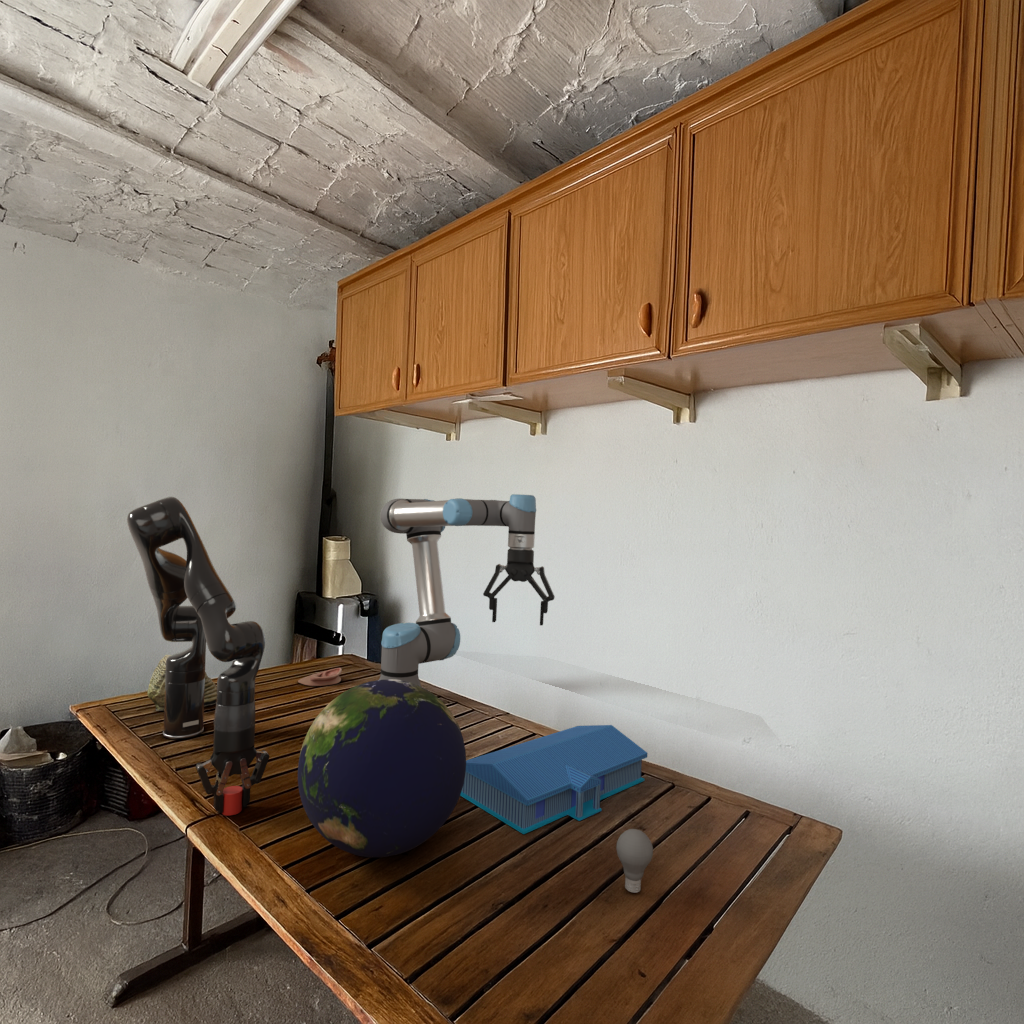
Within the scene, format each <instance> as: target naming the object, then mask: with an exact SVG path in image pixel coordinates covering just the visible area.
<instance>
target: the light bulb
mask: <svg viewBox="0 0 1024 1024" xmlns="http://www.w3.org/2000/svg"><path fill="white" fill-rule="evenodd" d="M615 849H616V854H617V857H618V859H619V861H620V863H621V865H622V867H623V873H624V874H623V875H624V876H625V878H624V888H625V890H627V891H628V892H630V893H634V894H635V893H639V892H640V891H641V889H642V887H641V886H642V879H643V877H644V875H645V871H646V868H647V867H648V866H649V864H650V863H651V861H652V859H653V855H654V847H653V843H652V841H651V838H649V836H648V835H647V834H646V833H645V832H643V831H642V830H641V829H636V828H629V829H627V830H625V831H623V832H622V833H621V834H620V835H619V837H618V839H617V841H616V847H615Z"/></svg>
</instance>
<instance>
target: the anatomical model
mask: <svg viewBox="0 0 1024 1024" xmlns="http://www.w3.org/2000/svg"><path fill="white" fill-rule="evenodd" d="M342 671H343V669H342V667H335V668H331V669H328V670H324V671H320V672H317V673H313V674H310V675H308V676H304V677H302V678H300V679H298V680H297V683H299V684H301V685H305V686H309V687H316V686H317V687H321V686H331V685H336V684H339V683H340V682H341V681H342V678H341V676H340V675H342Z"/></svg>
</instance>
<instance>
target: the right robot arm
mask: <svg viewBox="0 0 1024 1024" xmlns="http://www.w3.org/2000/svg"><path fill="white" fill-rule="evenodd" d="M536 515H537V499H536V496H534V495H533V494H517V493H516V494H515V493H513V494H510V496H509V500H498V499H472V498H471V499H469V498H460V497H459V498H450V499H446V500H433V499H428V498H423V499H422V498H393V499H390V500H389V501H386V502H385V503H384V505H383V506H382V507H381V510H380V513H379V517H380V522H381V525H383V527H384V528H385V529H386V530H387V531H389V532H390V533H395V534H403V535H404V534H406V541H407V542H408V543H409V544H410V545H411V547H412V557H413V566H414V567H413V568H414V576H415V585H416V595H417V602H418V612H419V616H418V618H417V619H416V620H415V623H414V622H405V623H404V622H400V623H394V624H392V625H389V626H387V627H386V628H385V629H384V630H383V632H382V635H381V642H380V643H381V655H380V656H381V658H380V675H379V679H378V680H387V679H396V680H402V681H406V682H410V683H413V684H416V685H418V686H420V687H422V684H421V681H420V678H419V664H420V665H421V664H425V663H432V662H437V661H444V660H447V659H450V658H453V657H455V655H456V654H457V653H458V651H459V648H460V645H461V632H460V629H459V628H458V625H457V624H455V623H454V622H452V617H451V616H450V615H449V614H448V613H447V612H446V606H445V605H446V603H445V598H444V595H445V594H444V586H443V579H442V570H441V561H440V552H439V551H440V550H439V545H438V541H439V540H440V539H441V538H442V533H443V531H445V529H446V527H470V526H471V527H472V526H473V527H475V526H477V527H507V528H508V533H507V535H508V536H507V547H508V549H507V555H506V556H507V557H506V565H503V564H501V563H497V564H496V565H495V570H494V573H493V575H492V576H491V579H490V580H489V582H488V584H487V585H486V588H485V590H484V591H483V593H482V594H483V597H487V598H488V599H489V600H488V601H489V602H488V603H489V604H488V609H489V611H492V616H491V622H492V623H496V622H497V613H498V612H497V610H498V609H497V608H498V597H496V596H497V595H498V594H499V593H500V592H501V591H502V589H503V588H504V587H505V586H506V585H507V584H508V583H509V582H510V581H512V582H521V583H526V582H527V583H528V584H530V585H531V587H532V588H533V590H534V591H535V592H536V593H537V595H538V596H539V597H540V599H541V600H540V609H539V611H540V613H539V626H543V625H544V616H545V614H547V613H548V612H549V611H548V609H549V602H551V601H554V600H555V599H556V597H555V594H554V592H553V589H552V588H551V585H550V583H549V580H548V578H547V575H546V573H545V566H538V567H535V565H534V559H535V558H534V557H535V551H534V548H535V538H536V534H535V533H536V531H535V530H536ZM503 571H505V572H506V574H507V576H505V578H504V580H502V581H501V582H500V584H499V585H498V586H497V587H496V588H495V589H494V590H493V591H492V592H491V590H492V589H493V587H494V585H495V583H496V581H497V580H498V578H499V576H500V574H501V573H503ZM535 572H536V574H537V575H539V577H540V580H541V582H542V584H543V587H544V589H545V591H546V593H545V592H544V590H543V589H542V588H541V587H540V585H539V584H538V583H537V581H536V579H534V577H533V575H534V573H535ZM547 595H548V596H547Z"/></svg>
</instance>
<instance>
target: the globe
mask: <svg viewBox="0 0 1024 1024" xmlns="http://www.w3.org/2000/svg"><path fill="white" fill-rule="evenodd" d="M466 760H467V753H466V746H465V741H464V737H463V733H462V730H461V728H460V726H459V723H458V721H457V719H456V718H455V716H454V714H453V713H452V711H451V710H450V709H449V708H448V706H447V705H446V704H445V703H444V702H443V701H442V700H441V699H440V698H439V697H438V696H436V695H435V694H434V693H432V692H431V691H430V690H428V689H427V688H425V687H422V686H421V687H420V686H418V685H416V684H413V683H410V682H406V681H402V680H396V679H387V680H379V679H377V680H376V679H375V680H370V681H366V682H363V683H360V684H358V685H355V686H353V687H351V688H349V689H347V690H345V691H344V692H342V693H341V694H340V693H339V695H337V696H336V697H335V698H334V699H332V700H331V701H330V702H329V703H328V704H327V705H326V706H325V707H324V708H322V710H321V711H320V712H319V713H318V715H317V716H316V717H315V719H314V720H313V722H312V723H311V725H310V727H309V729H308V731H307V733H306V735H305V738H304V740H303V742H302V745H301V749H300V752H299V758H298V763H297V764H298V765H297V766H298V767H297V786H298V793H299V797H300V800H301V801H300V802H301V804H302V807H303V809H304V811H305V814H306V816H307V818H308V820H309V822H310V823H311V824H312V826H313V827H314V829H315V830H316V831H317V833H318V834H320V835H321V836H322V837H323V839H325V840H326V841H327V842H328V843H330V844H331V845H333V846H335V847H336V848H338V849H339V850H341V851H343V852H346V853H348V854H351V855H354V856H358V857H363V858H387V857H393V856H397V855H401V854H404V853H406V852H410V851H411V850H413V849H415V848H417V847H419V846H420V845H422V844H423V843H425V842H427V840H429V839H430V838H432V837H433V836H434V835H435V834H436V833H437V832H438V831H439V830H440V829H441V828H442V827H443V826H444V824H446V822H447V821H448V819H449V818H450V816H451V814H452V813H453V811H454V809H455V808H456V806H457V804H458V801H459V799H460V797H461V796H460V794H461V791H462V788H463V784H464V779H465V773H466Z"/></svg>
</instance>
